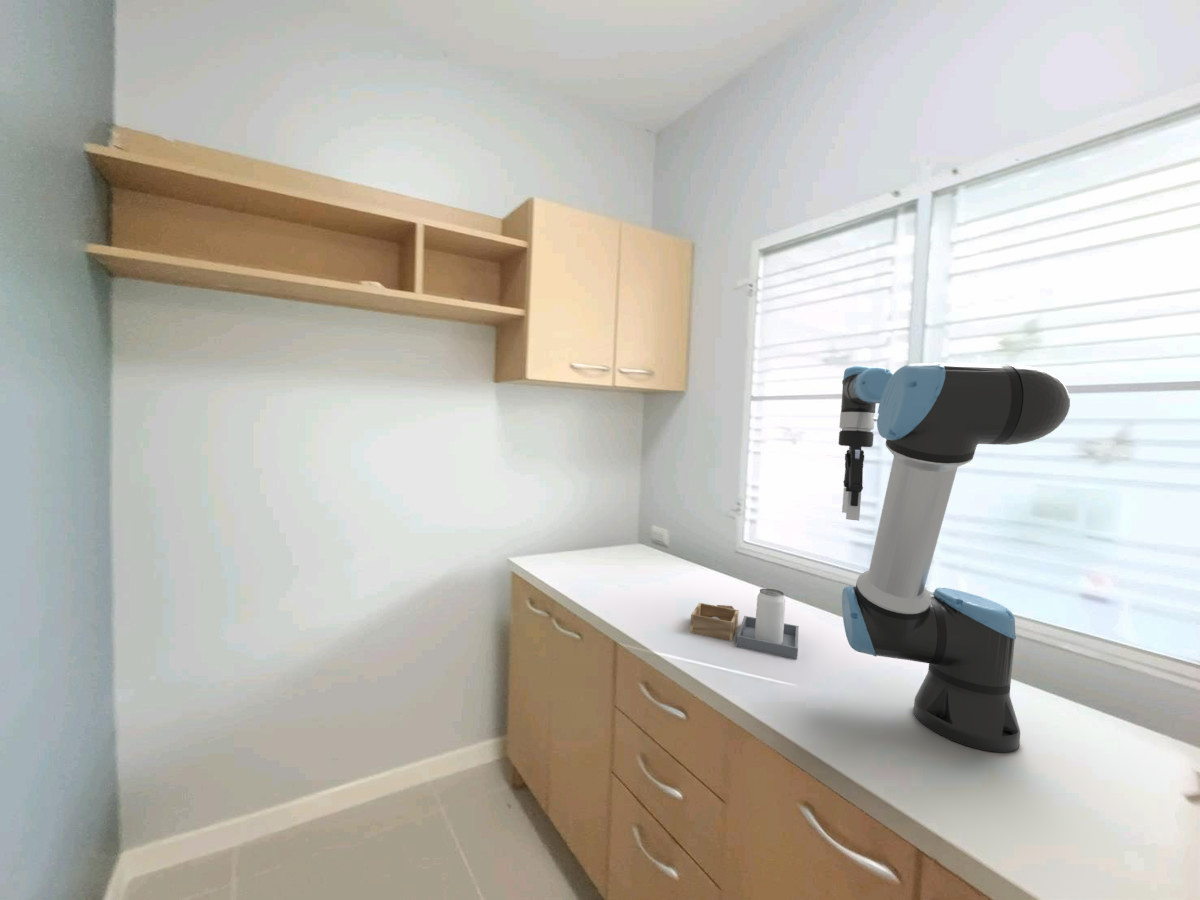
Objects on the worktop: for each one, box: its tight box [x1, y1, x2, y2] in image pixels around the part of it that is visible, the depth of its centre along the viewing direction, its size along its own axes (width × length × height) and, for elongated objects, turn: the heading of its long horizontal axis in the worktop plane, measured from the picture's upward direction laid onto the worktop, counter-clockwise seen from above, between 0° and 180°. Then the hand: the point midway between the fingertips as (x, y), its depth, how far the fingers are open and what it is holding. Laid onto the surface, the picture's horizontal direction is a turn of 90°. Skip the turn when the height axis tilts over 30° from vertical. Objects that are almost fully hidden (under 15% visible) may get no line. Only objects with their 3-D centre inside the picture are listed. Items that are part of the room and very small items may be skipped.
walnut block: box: [716, 604, 735, 609], centre depth 131 cm, size 4×4×4 cm
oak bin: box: [689, 602, 740, 642], centre depth 124 cm, size 10×10×5 cm
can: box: [755, 587, 786, 644], centre depth 119 cm, size 6×6×12 cm
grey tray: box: [735, 615, 799, 660], centre depth 119 cm, size 15×13×3 cm
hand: (850, 516), depth 121 cm, fingers open, 13 cm apart
